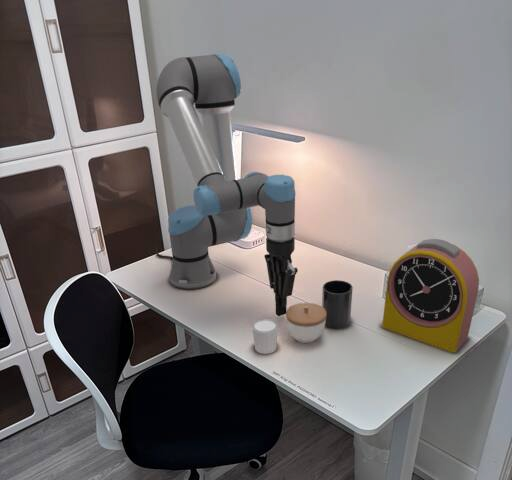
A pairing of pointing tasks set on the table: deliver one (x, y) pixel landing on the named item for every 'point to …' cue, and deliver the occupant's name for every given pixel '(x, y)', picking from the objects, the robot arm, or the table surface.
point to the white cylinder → (265, 335)
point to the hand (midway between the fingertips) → (281, 313)
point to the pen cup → (337, 303)
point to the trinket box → (306, 321)
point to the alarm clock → (432, 294)
